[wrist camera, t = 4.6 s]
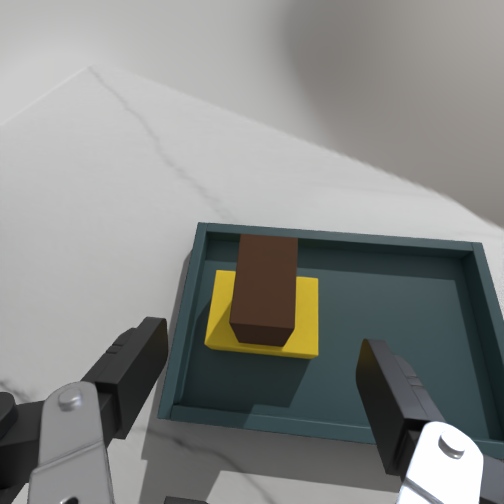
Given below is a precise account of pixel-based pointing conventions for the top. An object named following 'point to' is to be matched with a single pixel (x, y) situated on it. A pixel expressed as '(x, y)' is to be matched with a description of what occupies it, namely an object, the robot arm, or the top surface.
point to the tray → (347, 337)
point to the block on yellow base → (264, 302)
